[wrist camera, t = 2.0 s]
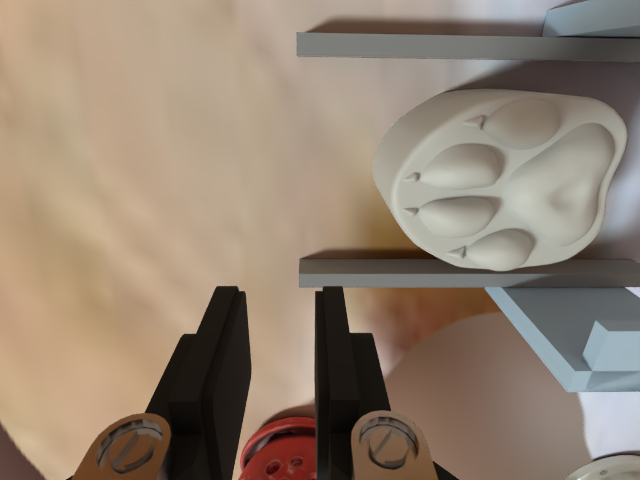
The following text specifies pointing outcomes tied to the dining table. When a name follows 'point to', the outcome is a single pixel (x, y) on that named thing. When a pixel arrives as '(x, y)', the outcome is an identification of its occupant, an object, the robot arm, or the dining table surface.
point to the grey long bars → (437, 269)
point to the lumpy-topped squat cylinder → (501, 175)
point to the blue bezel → (583, 302)
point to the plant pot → (281, 451)
